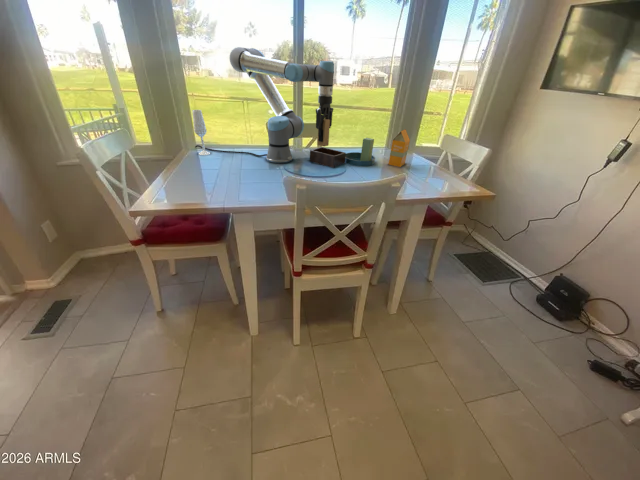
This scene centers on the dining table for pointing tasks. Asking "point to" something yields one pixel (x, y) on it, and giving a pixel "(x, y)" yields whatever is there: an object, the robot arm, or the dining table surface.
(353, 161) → the bowl
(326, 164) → the box
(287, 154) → the robot arm
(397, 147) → the orange juice
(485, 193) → the dining table surface
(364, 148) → the packet sage
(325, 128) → the packet kraft
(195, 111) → the champagne flute
